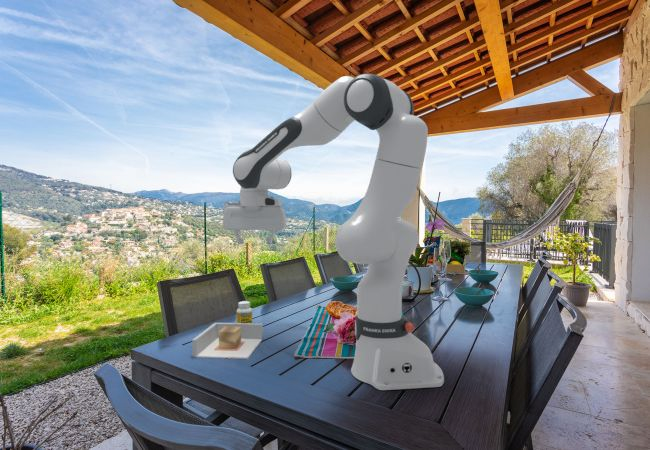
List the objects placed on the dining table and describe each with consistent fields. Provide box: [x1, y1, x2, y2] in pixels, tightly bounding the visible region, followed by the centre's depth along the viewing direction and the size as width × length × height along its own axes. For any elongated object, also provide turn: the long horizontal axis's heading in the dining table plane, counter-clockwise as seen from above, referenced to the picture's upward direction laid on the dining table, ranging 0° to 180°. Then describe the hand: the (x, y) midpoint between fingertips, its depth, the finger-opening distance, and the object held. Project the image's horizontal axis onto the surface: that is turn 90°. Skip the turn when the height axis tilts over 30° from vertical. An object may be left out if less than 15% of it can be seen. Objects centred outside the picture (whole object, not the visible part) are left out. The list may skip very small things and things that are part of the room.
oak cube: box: [219, 326, 241, 349], centre depth 107 cm, size 5×5×5 cm
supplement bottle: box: [236, 300, 253, 323], centre depth 124 cm, size 5×5×10 cm
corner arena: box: [191, 322, 264, 360], centre depth 107 cm, size 16×16×5 cm
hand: (254, 244), depth 113 cm, fingers open, 8 cm apart
